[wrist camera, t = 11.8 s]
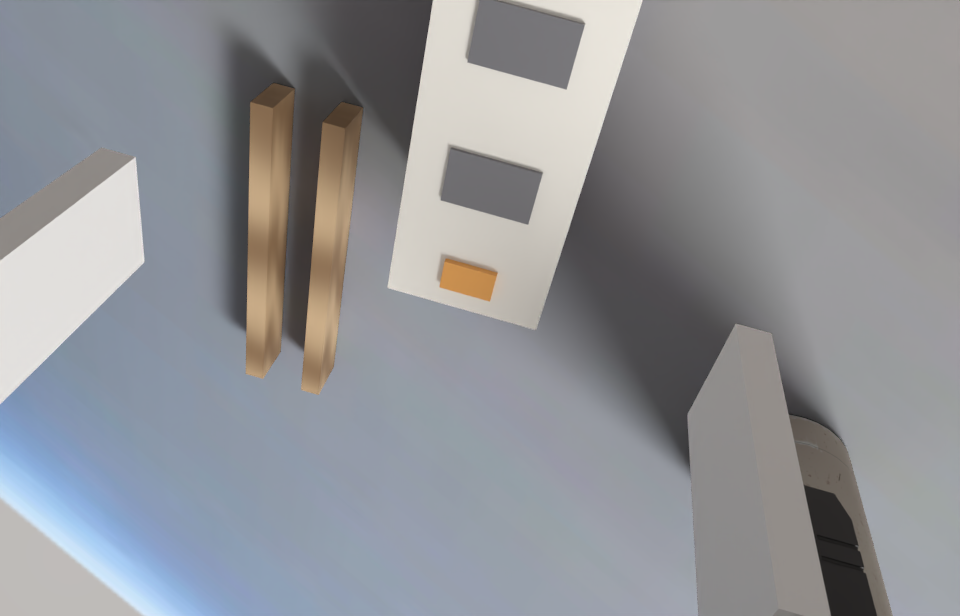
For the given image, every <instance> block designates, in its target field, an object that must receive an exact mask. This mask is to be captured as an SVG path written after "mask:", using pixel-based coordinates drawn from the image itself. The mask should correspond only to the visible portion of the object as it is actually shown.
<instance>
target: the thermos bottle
mask: <svg viewBox="0 0 960 616" xmlns="http://www.w3.org/2000/svg"><path fill="white" fill-rule="evenodd" d="M789 419H790V423H791V428H792V433H793V438H794V442H795V447H796V452H797V457H798V462H799V466H800V471H801V476H802V481H803V485H806V486H809V487H813V488H816V489H820V490H823V491H827V492H831V493H834V494H835V495H836V497H837V498H838V500H839V501H840V503H841V504H842V506H843V507H844V509H845V510H846V512H847V513H848V515H849V516H850V518H851V519H852V522H853V526H854V530H855V534H856V538H857V541H858V545H859V547H858V551H860V553H861V556H862V560H863V564H864V570H863V571H864V573H866V575H867V579H868V583H869V587H870V590H871V594H872V598H873V602H874V606H875V609H876V613H877V616H893V615H892V611H891V608H890V604H889V600H888V597H887V593H886V589H885V586H884V582H883V578H882V575H881V571H880V567H879V564H878V560H877V556H876V552H875V549H874V545H873V541H872V538H871V534H870V530H869V527H868V523H867V519H866V516H865V512H864V508H863V505H862V501H861V497H860V494H859V490H858V486H857V482H856V479H855V475H854V471H853V468H852V464H851V460H850V457H849V455H848V452H847V449H846V447H845V446H844V444H843V443H842V442H841V440H840V439H839V438H838V437H837V436H836V435H835V434H834V433H832V432H831V431H830V430H829V429H827V428H826V427H824V426H822V425H820V424H819V423H817V422H814V421H811V420H809V419H806V418H803V417H798V416H793V415H789Z"/></svg>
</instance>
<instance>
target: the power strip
mask: <svg viewBox="0 0 960 616" xmlns="http://www.w3.org/2000/svg"><path fill="white" fill-rule="evenodd" d="M642 1H643V0H433V4H432V10H431V17H430V23H429V29H428V35H427V42H426V48H425V54H424V61H423V67H422V73H421V80H420V86H419V92H418V99H417V105H416V111H415V118H414V124H413V130H412V137H411V143H410V149H409V155H408V162H407V168H406V174H405V181H404V187H403V193H402V200H401V206H400V212H399V219H398V225H397V231H396V238H395V244H394V250H393V257H392V263H391V269H390V275H389V282H388V288H390V289H393V290H397V291H400V292H404V293H407V294H411V295H414V296H418V297H421V298H425V299H428V300H432V301H435V302H439V303H442V304H446V305H449V306H453V307H456V308H460V309H463V310H467V311H470V312H474V313H477V314H481V315H484V316H488V317H491V318H495V319H498V320H502V321H505V322H509V323H512V324H516V325H519V326H523V327H526V328H530V329H533V330H536V329H537V326H538V322H539V319H540V316H541V313H542V310H543V307H544V304H545V301H546V298H547V295H548V292H549V288H550V285H551V282H552V279H553V276H554V273H555V270H556V267H557V264H558V261H559V258H560V254H561V251H562V248H563V245H564V242H565V239H566V236H567V233H568V230H569V227H570V224H571V220H572V217H573V214H574V211H575V208H576V205H577V202H578V199H579V196H580V193H581V190H582V187H583V183H584V180H585V177H586V174H587V171H588V168H589V165H590V162H591V159H592V156H593V153H594V149H595V146H596V143H597V140H598V137H599V134H600V131H601V128H602V125H603V122H604V119H605V115H606V112H607V109H608V106H609V103H610V100H611V97H612V94H613V91H614V88H615V85H616V81H617V78H618V75H619V72H620V69H621V66H622V63H623V60H624V57H625V54H626V51H627V47H628V44H629V41H630V38H631V35H632V32H633V29H634V26H635V23H636V20H637V17H638V13H639V10H640V7H641V4H642Z"/></svg>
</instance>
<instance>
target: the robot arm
mask: <svg viewBox="0 0 960 616" xmlns="http://www.w3.org/2000/svg"><path fill="white" fill-rule="evenodd" d="M143 263H144V250H143V238H142V227H141V215H140V203H139V191H138V179H137V168H136V157H134V156H130V155H126V154H123V153H119V152H116V151H112V150H108V149H105V148H100V149H99V150H97V151H96V152H94V153H93V154H91V155H90V156H89V157H87V158H86V159H84V160H83V161H81V162H80V163H79V164H77V165H76V166H74V167H73V168H71V169H70V170H69V171H67V172H66V173H64V174H63V175H61V176H60V177H59V178H57V179H56V180H54V181H53V182H51V183H50V184H49V185H47V186H46V187H44V188H43V189H41V190H40V191H39V192H37V193H36V194H34V195H33V196H31V197H30V198H29V199H27V200H26V201H24V202H23V203H21V204H20V205H19V206H17V207H16V208H14V209H13V210H11V211H10V212H9V213H7V214H6V215H4V216H3V217H1V218H0V404H1V403H2V402H3V401H4V400H5V399H6V398H7V397H8V396H9V395H10V394H11V393H12V392H13V391H14V390H15V389H16V388H17V387H18V386H19V385H20V384H21V383H22V382H23V381H24V380H25V379H26V378H27V377H28V376H29V375H30V374H31V373H32V372H33V371H34V370H35V369H36V368H37V367H38V366H39V365H40V364H41V363H43V362H44V361H45V360H46V359H47V358H48V357H49V356H50V355H51V354H52V353H53V352H54V351H55V350H56V349H57V348H58V347H59V346H60V345H61V344H62V343H63V342H64V341H65V340H66V339H67V338H68V337H69V336H70V335H71V334H72V333H73V332H74V331H75V330H76V329H77V328H78V327H79V326H80V325H81V324H82V323H83V322H84V321H85V320H86V319H87V318H88V317H89V316H90V315H91V314H92V313H93V312H94V311H95V310H96V309H97V308H98V307H99V306H100V305H101V304H102V303H103V302H104V301H105V300H106V299H107V298H108V297H110V296H111V295H112V294H113V293H114V292H115V291H116V290H117V289H118V288H119V287H120V286H121V285H122V284H123V283H124V282H125V281H126V280H127V279H128V278H129V277H130V276H131V275H132V274H133V273H134V272H135V271H136V270H137V269H138V268H139V267H140V266H141V265H142V264H143ZM687 418H688V436H689V454H690V473H691V491H692V509H693V527H694V545H695V564H696V582H697V600H698V616H877V613H876V609H875V606H874V602H873V598H872V594H871V590H870V587H869V583H868V579H867V575H866V573H864V571H863V570H864V564H863V560H862V556H861V553H860V551H858V547H859V545H858V541H857V538H856V534H855V530H854V526H853V522H852V519H851V518H850V516H849V515H848V513H847V512H846V510H845V509H844V507H843V506H842V504H841V503H840V501H839V500H838V498H837V497H836V495H835V494H834V493H831V492H827V491H823V490H820V489H816V488H813V487H809V486H806V485H803V481H802V476H801V471H800V466H799V462H798V457H797V452H796V447H795V442H794V438H793V433H792V428H791V423H790V419H789V414H788V409H787V404H786V400H785V395H784V390H783V385H782V381H781V376H780V371H779V366H778V362H777V357H776V352H775V347H774V343H773V338H772V333H768V332H765V331H761V330H758V329H754V328H750V327H747V326H743V325H740V324H735V326H734V328H733V330H732V331H731V333H730V335H729V337H728V339H727V341H726V343H725V345H724V346H723V348H722V350H721V352H720V354H719V356H718V358H717V360H716V362H715V363H714V365H713V367H712V369H711V371H710V373H709V375H708V377H707V378H706V380H705V382H704V384H703V386H702V388H701V390H700V392H699V393H698V395H697V397H696V399H695V401H694V403H693V405H692V407H691V408H690V410H689V412H688V414H687Z"/></svg>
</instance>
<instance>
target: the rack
mask: <svg viewBox="0 0 960 616" xmlns="http://www.w3.org/2000/svg"><path fill="white" fill-rule="evenodd" d="M294 94H295V89H294V88H290V87H287V86H283V85H280V84H276V83H273V84H271V85H270V86H269V87H268V88H267V89H265V90H264V91H263V92H262V93H261V94H259V95H258V96H257V97H256V98H255V99H253V100H252V101H251V102H250V153H249V214H248V274H247V334H246V374H249V375H252V376H256V377H259V378H262V379H263V378H264V377H265V375H266V373H267V372H268V370H269V369H270V367H271V366H272V364H273V363H274V361H275V360H276V358H277V356H278V355H279V353H280V352H281V335H282V316H283V298H284V279H285V261H286V242H287V224H288V205H289V187H290V168H291V150H292V131H293V113H294ZM362 113H363V108H362V107H359V106H355V105H352V104H348V103H344V102H341V103H340V104H339V105H338V106H337V107H336V108H335V109H334V111H333V112H332V113H331V114H330V115H329V116H328V117H327V118H326V119H325V120H324V121H323V123H322V136H321V148H320V161H319V173H318V186H317V198H316V211H315V223H314V236H313V248H312V261H311V273H310V286H309V298H308V311H307V323H306V336H305V348H304V361H303V373H302V386H301V390H304V391H307V392H310V393H314V394H317V395H319V393H320V391H321V389H322V388H323V386H324V384H325V382H326V380H327V378H328V376H329V375H330V373H331V371H332V369H333V367H334V359H335V351H336V342H337V333H338V324H339V315H340V307H341V298H342V289H343V280H344V271H345V263H346V254H347V245H348V236H349V228H350V219H351V210H352V201H353V192H354V184H355V175H356V166H357V157H358V148H359V140H360V131H361V122H362Z"/></svg>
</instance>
